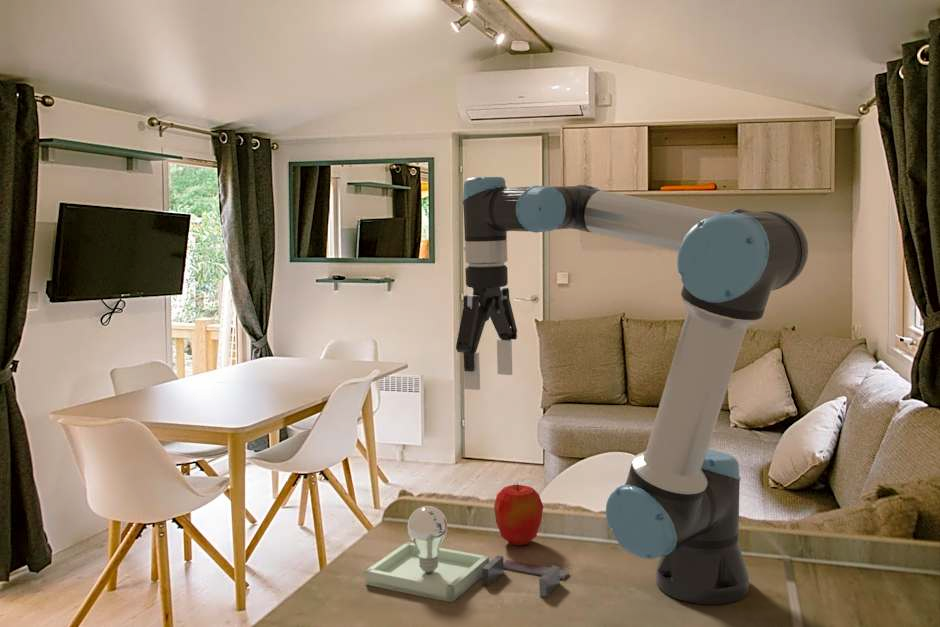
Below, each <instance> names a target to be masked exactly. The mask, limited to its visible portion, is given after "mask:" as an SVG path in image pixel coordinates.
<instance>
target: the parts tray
mask: <svg viewBox="0 0 940 627" xmlns="http://www.w3.org/2000/svg"><path fill="white" fill-rule="evenodd" d="M437 557H438V567H437V568H436V569H435V570H434V571H433V572H432V573H430V574H427V573H426V572H424V571H423V570H422V569H421V568H420V566H419V564H420V563H419V561H420V560H419V555H418V553H417V548H416V546H415V544H414V543H413V542H410V541H407V542H405V543H403V544H402V545H401V546H399V547H398V548H396V549H395V550H393V551H391V552H390V553H389V554H387V555H386V556H385V557H383V558H381V559H380V560H378V561H377V562H375V563H374V564H372V565H371V566H369V567H368V568H367V569H365V570H364V576H365V585H366V586H367V585H368V586H372V587H377V588H381V589H385V590H391V591H393V592H394V591H395V592H399V593H404V594H408V595H409V594H410V595H414V596H419V597H423V598H429V599H431V600H432V599H433V600H438V601H443V602H447V603H452V604H453V603H454V601H456V600H457V599H458V598H459V597H460V596H461V595H463V594H464V593H466V592H467V591H468V589H469V588H471V587H472V586H473V585H474V584H475V583H476V582H477V581H478V580H480V579H481V578H482V568H483V567H484V566H485V565H486V564H488V563H489V562H490V556H487V555H484V554H483V555H482V554H477V553H472V552H471V553H470V552H466V551H461V550H456V549H455V550H454V549H449V548H443V547H440V549H439V554H438V555H437Z"/></svg>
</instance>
